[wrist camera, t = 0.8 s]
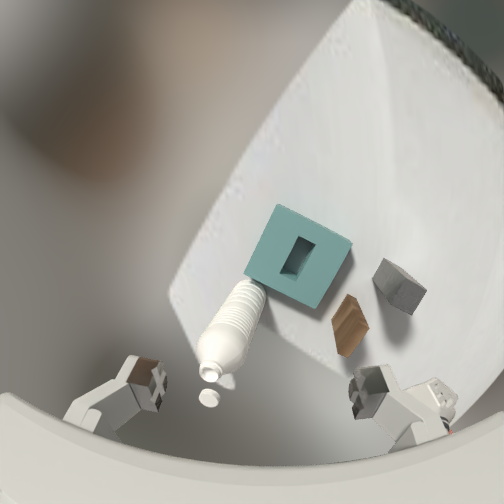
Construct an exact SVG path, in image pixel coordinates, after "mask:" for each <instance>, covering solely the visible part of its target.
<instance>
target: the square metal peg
mask: <svg viewBox="0 0 504 504" xmlns="http://www.w3.org/2000/svg"><path fill="white" fill-rule="evenodd" d="M372 279H373V281H374V282H375V283H376V285H377V286H378V288H379V289H380V290H381V292H382V293H383V294H384V296H385V297H386V299H387V300H388V302H389V303H390V304H391V305H393V306H395V307H397V308H398V309H400V310H402V311H404V312H406V313H408V314H410V315H412V314H413V312H414V311H415V309H416V308H417V306H418V305H419V303H420V301H421V300H422V298H423V296H424V295H425V293H426V291H427V290H426V289H425V288H424V287H423V286H422V285H421V284H419V283H418V282H417V281H416V280H415V279H414V278H413V277H411V276H410V275H409V274H408V273H407V272H406V271H404V270H403V269H402V268H400V267H399V266H397V265H395V264H394V263H392V262H390V261H389V260H387V259H385V258H383V260H382V262H381V264H380V266H379V267H378V269H377V271H376V273H375V274H374V276H373V278H372Z"/></svg>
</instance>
